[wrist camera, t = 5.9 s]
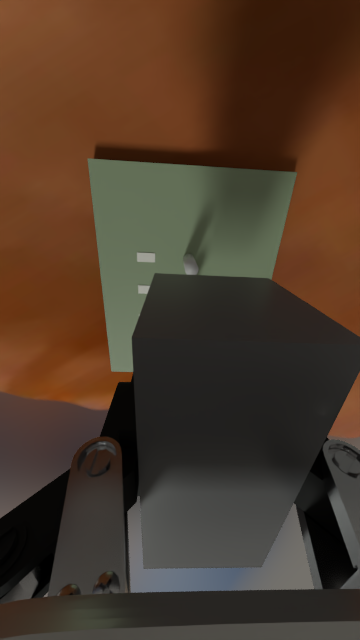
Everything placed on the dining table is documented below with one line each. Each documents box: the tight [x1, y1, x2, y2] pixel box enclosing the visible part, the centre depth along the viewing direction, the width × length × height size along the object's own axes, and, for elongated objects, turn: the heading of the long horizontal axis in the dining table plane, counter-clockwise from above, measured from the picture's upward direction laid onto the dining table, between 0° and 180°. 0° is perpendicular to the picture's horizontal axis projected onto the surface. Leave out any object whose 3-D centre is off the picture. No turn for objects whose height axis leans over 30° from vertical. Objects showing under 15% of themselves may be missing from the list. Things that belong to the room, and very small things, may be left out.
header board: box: [88, 159, 297, 372], centre depth 20 cm, size 20×16×5 cm
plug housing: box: [132, 273, 360, 569], centre depth 8 cm, size 10×4×5 cm, turn 177°
